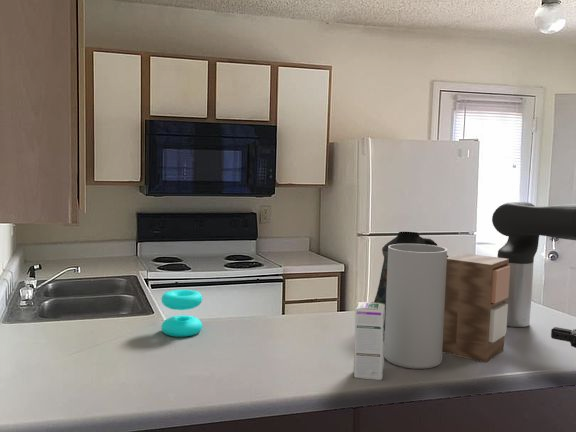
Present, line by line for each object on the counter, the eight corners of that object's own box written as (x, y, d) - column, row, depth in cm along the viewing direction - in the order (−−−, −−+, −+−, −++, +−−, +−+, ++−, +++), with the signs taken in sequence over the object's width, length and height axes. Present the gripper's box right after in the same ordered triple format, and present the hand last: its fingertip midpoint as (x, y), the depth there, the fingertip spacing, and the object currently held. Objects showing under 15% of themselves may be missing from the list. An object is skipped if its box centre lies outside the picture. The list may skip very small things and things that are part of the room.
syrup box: (382, 380, 116) (385, 309, 115) (352, 377, 117) (355, 307, 116) (383, 370, 122) (386, 302, 120) (355, 368, 123) (357, 300, 121)
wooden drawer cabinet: (503, 351, 136) (508, 258, 134) (485, 362, 128) (491, 264, 126) (458, 340, 143) (463, 253, 141) (439, 351, 135) (443, 258, 133)
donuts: (155, 291, 146) (191, 286, 151) (155, 330, 147) (191, 324, 152) (171, 299, 137) (209, 294, 143) (171, 340, 138) (209, 334, 144)
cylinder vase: (451, 368, 124) (457, 252, 121) (395, 371, 122) (400, 252, 119) (427, 349, 136) (432, 243, 133) (376, 351, 134) (380, 243, 131)
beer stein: (358, 319, 160) (361, 229, 158) (417, 313, 168) (421, 227, 165) (391, 337, 145) (395, 237, 143) (454, 329, 152) (459, 235, 150)
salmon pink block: (508, 297, 133) (510, 266, 132) (495, 303, 127) (497, 270, 126) (481, 292, 137) (483, 262, 136) (467, 298, 131) (469, 266, 130)
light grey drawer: (506, 334, 134) (507, 304, 133) (493, 342, 128) (494, 310, 127) (479, 329, 138) (481, 299, 137) (465, 336, 132) (467, 305, 131)
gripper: (653, 324, 117) (561, 309, 128) (642, 338, 107) (543, 321, 118) (651, 360, 118) (559, 342, 129) (639, 378, 108) (541, 357, 119)
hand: (552, 332), depth 123 cm, fingers closed
